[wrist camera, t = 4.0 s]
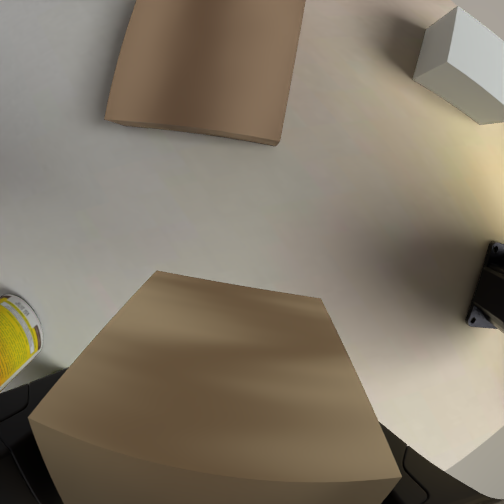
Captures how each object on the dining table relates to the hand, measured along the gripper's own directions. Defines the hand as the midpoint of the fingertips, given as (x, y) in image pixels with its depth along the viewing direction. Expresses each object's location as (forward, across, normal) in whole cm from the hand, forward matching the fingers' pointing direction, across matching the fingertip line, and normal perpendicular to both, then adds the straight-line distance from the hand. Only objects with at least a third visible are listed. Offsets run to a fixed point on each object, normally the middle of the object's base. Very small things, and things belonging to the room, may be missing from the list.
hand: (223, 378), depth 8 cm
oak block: (+1, 0, 0) cm, 1 cm away
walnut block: (+12, +4, -11) cm, 17 cm away
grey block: (+9, -9, -16) cm, 20 cm away
